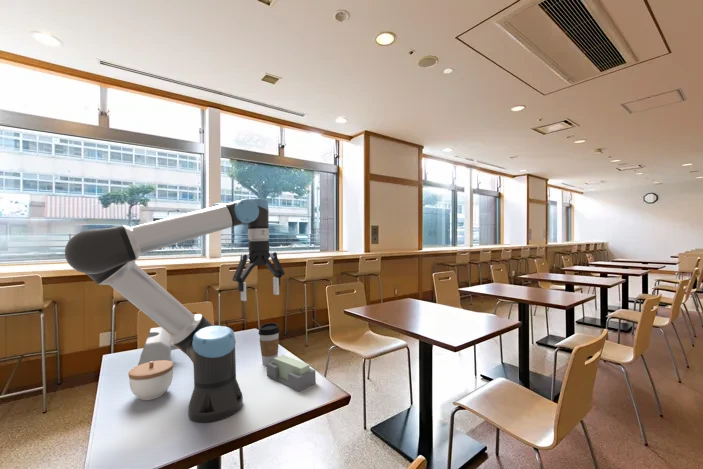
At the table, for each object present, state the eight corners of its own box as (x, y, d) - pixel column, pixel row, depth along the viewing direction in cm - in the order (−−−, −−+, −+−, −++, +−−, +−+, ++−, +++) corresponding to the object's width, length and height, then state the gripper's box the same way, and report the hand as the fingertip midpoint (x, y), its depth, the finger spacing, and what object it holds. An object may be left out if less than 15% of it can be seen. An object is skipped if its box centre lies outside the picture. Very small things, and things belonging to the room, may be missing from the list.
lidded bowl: (179, 394, 107) (178, 360, 107) (134, 409, 98) (133, 373, 98) (167, 382, 116) (166, 351, 116) (125, 395, 107) (124, 362, 107)
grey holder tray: (298, 391, 106) (298, 377, 106) (266, 375, 119) (266, 363, 119) (315, 383, 112) (315, 370, 112) (283, 369, 124) (283, 357, 124)
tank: (181, 370, 126) (180, 338, 126) (131, 380, 119) (130, 346, 118) (181, 350, 148) (180, 323, 148) (139, 357, 141) (138, 329, 141)
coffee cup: (283, 358, 135) (282, 322, 135) (276, 367, 126) (275, 328, 126) (263, 358, 136) (262, 322, 136) (255, 366, 127) (254, 328, 127)
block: (274, 374, 118) (273, 358, 118) (283, 370, 122) (282, 354, 121) (301, 386, 109) (300, 368, 109) (310, 381, 112) (309, 364, 112)
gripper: (231, 241, 108) (233, 304, 108) (292, 239, 126) (294, 293, 126) (221, 241, 113) (223, 302, 114) (281, 239, 131) (283, 291, 132)
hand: (260, 297), depth 120 cm, fingers open, 13 cm apart
